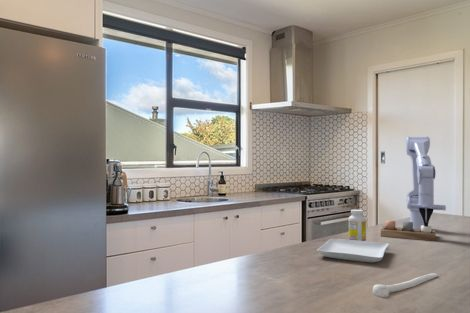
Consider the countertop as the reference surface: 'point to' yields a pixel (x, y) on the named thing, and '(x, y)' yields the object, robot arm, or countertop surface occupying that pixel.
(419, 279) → the white long rod
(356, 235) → the supplement bottle
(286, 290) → the countertop surface
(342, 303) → the countertop surface
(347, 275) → the countertop surface
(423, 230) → the white rounded cylinder
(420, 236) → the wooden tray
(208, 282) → the countertop surface
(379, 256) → the salad plate
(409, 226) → the grey rounded piece
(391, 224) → the peach rounded cylinder
